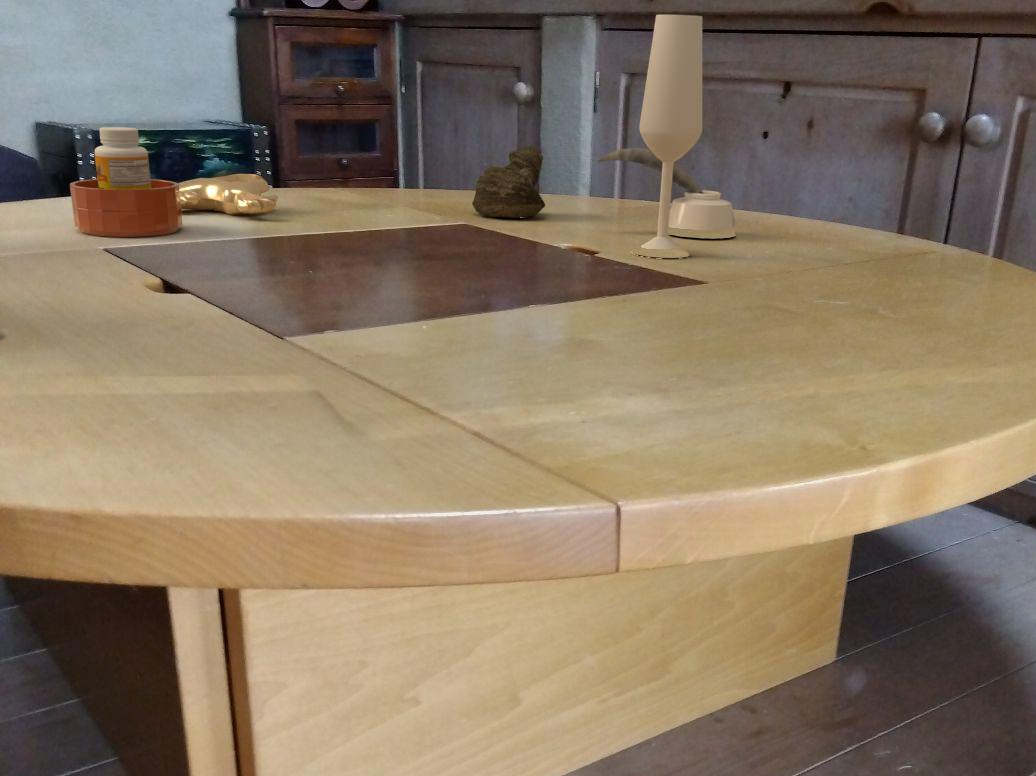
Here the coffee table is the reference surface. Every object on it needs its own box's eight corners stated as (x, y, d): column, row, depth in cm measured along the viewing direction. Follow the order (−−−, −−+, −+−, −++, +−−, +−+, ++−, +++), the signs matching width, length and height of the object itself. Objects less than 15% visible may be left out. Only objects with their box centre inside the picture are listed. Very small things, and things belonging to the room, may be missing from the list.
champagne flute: (620, 250, 126) (634, 14, 117) (671, 248, 129) (690, 17, 119) (649, 259, 120) (667, 13, 111) (703, 257, 123) (724, 16, 114)
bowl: (94, 240, 119) (89, 191, 117) (62, 226, 128) (56, 180, 126) (198, 234, 126) (194, 187, 124) (161, 220, 134) (157, 177, 132)
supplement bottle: (107, 220, 128) (96, 125, 124) (157, 221, 129) (148, 127, 125) (98, 228, 123) (87, 129, 119) (151, 228, 124) (141, 130, 120)
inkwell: (746, 240, 136) (756, 154, 132) (602, 239, 133) (607, 150, 129) (722, 229, 144) (730, 147, 140) (586, 228, 141) (590, 144, 137)
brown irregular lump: (575, 172, 144) (559, 163, 153) (500, 117, 139) (488, 111, 148) (525, 248, 146) (512, 234, 155) (450, 196, 142) (441, 185, 151)
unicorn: (320, 179, 142) (216, 199, 129) (322, 211, 144) (220, 234, 131) (211, 164, 152) (104, 182, 139) (215, 194, 154) (110, 215, 141)
